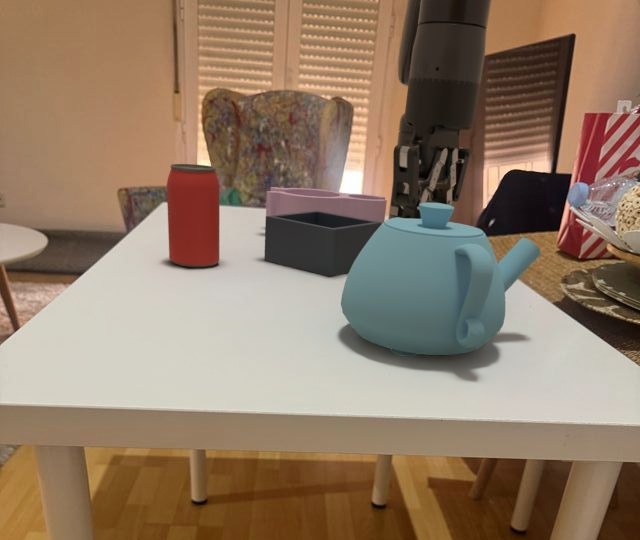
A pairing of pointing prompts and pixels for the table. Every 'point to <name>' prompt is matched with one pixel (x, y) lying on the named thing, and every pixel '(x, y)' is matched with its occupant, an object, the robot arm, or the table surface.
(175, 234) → the beer can
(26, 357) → the table surface
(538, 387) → the table surface
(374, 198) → the pink elongated piece
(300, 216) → the caddy
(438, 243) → the teapot
